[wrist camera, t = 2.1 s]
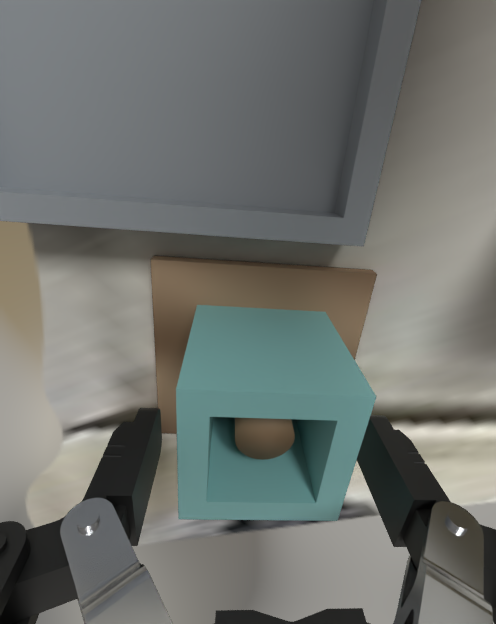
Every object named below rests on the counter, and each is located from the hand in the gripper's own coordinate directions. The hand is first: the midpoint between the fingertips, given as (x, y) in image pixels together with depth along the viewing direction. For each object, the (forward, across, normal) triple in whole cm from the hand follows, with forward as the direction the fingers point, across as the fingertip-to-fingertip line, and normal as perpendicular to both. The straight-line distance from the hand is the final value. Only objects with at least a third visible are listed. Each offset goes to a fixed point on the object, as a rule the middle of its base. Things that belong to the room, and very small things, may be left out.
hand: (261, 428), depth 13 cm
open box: (+4, 0, 0) cm, 4 cm away
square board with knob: (+5, 0, 0) cm, 5 cm away
